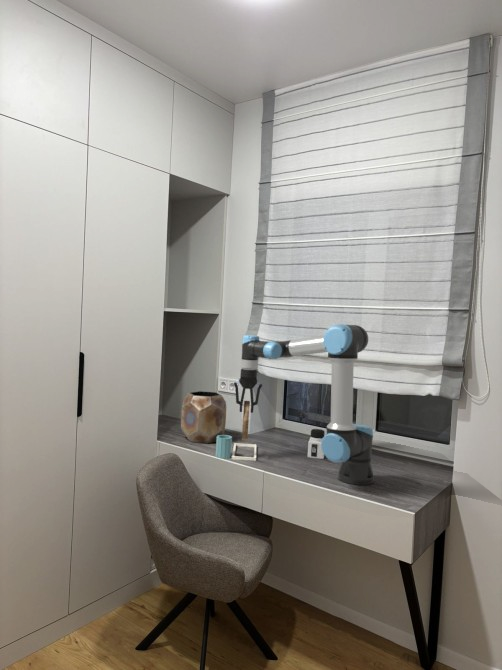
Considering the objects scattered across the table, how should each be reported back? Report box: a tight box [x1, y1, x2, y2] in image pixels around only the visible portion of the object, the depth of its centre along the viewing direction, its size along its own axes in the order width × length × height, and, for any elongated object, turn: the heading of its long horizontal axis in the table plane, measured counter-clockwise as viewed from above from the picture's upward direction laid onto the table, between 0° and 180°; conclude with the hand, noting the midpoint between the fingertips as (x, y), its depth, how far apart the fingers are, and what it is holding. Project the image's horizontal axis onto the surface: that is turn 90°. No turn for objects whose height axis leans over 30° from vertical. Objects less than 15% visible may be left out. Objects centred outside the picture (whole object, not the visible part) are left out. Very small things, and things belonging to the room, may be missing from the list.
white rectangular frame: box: [231, 442, 257, 462], centre depth 244 cm, size 24×11×2 cm, turn 179°
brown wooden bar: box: [241, 400, 251, 442], centre depth 238 cm, size 6×3×18 cm, turn 0°
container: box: [307, 428, 326, 460], centre depth 249 cm, size 8×8×13 cm
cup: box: [215, 434, 233, 459], centre depth 236 cm, size 7×7×10 cm
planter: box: [180, 390, 227, 444], centre depth 269 cm, size 22×24×24 cm
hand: (245, 419), depth 239 cm, fingers closed on brown wooden bar, 2 cm apart
